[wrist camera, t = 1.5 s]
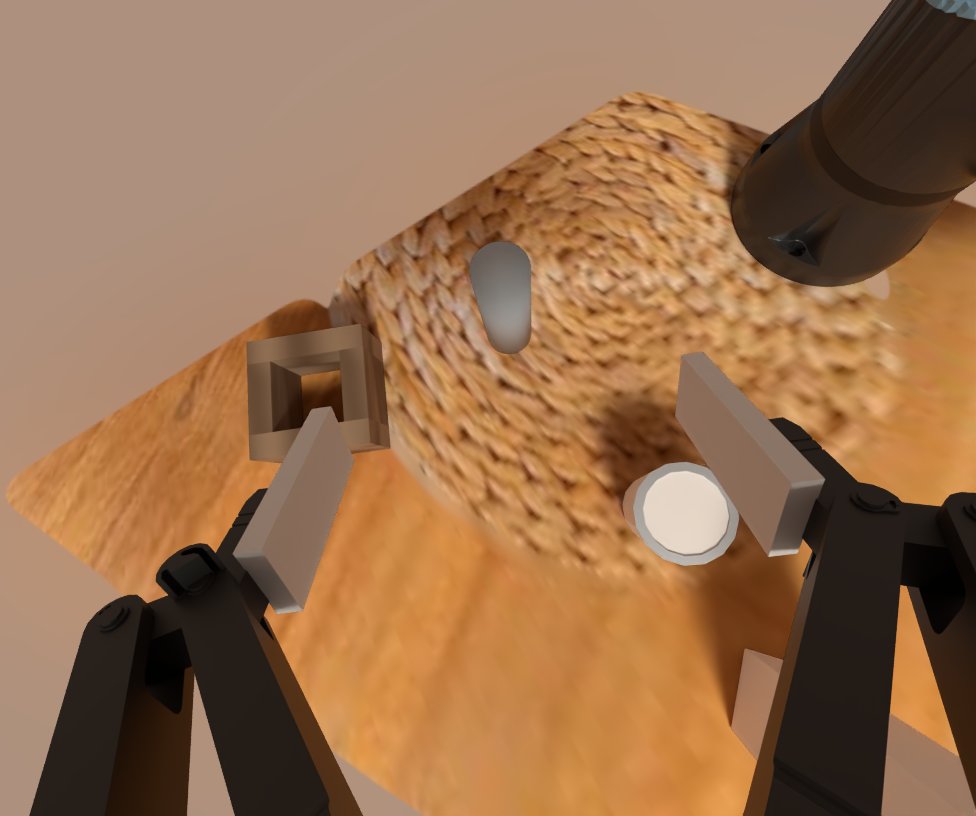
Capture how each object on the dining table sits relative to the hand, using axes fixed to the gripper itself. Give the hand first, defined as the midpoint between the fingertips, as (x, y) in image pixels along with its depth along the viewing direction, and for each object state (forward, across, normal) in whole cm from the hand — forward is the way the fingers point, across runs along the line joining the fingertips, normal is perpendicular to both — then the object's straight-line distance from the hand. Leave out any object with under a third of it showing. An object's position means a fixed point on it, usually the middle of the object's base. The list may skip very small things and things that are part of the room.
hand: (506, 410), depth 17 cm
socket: (+21, -16, -10) cm, 28 cm away
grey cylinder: (+23, +1, -8) cm, 25 cm away
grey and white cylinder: (+12, +11, -20) cm, 25 cm away
